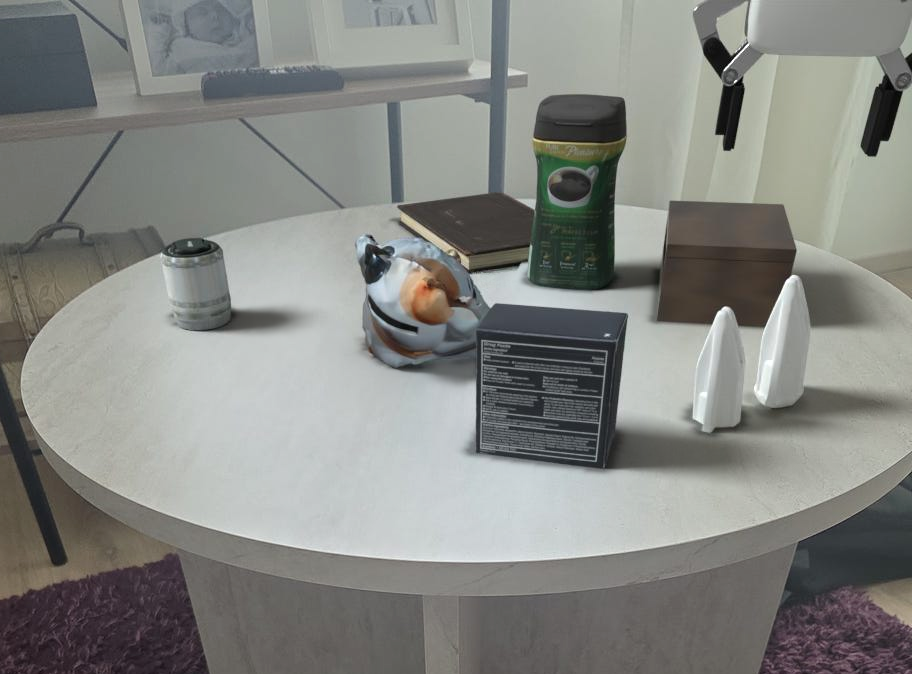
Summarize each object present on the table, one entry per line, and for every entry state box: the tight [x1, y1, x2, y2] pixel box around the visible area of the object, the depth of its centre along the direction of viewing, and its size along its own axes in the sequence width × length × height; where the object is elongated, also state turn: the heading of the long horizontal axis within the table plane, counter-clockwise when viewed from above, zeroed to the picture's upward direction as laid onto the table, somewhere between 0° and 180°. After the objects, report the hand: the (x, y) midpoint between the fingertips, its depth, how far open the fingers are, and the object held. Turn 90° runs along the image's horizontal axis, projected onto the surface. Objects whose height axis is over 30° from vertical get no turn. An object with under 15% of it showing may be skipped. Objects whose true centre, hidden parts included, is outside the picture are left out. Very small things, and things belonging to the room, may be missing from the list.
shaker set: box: [692, 274, 811, 434], centre depth 74 cm, size 12×4×11 cm, turn 118°
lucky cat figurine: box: [354, 233, 491, 369], centre depth 84 cm, size 15×12×14 cm
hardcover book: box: [396, 191, 535, 274], centre depth 117 cm, size 16×23×2 cm
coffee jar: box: [527, 93, 628, 291], centre depth 98 cm, size 10×8×19 cm
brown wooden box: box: [656, 200, 798, 328], centre depth 96 cm, size 12×16×8 cm
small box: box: [474, 302, 629, 470], centre depth 70 cm, size 11×6×10 cm, turn 73°
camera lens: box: [159, 237, 232, 331], centre depth 94 cm, size 6×6×8 cm
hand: (796, 149), depth 65 cm, fingers open, 9 cm apart
